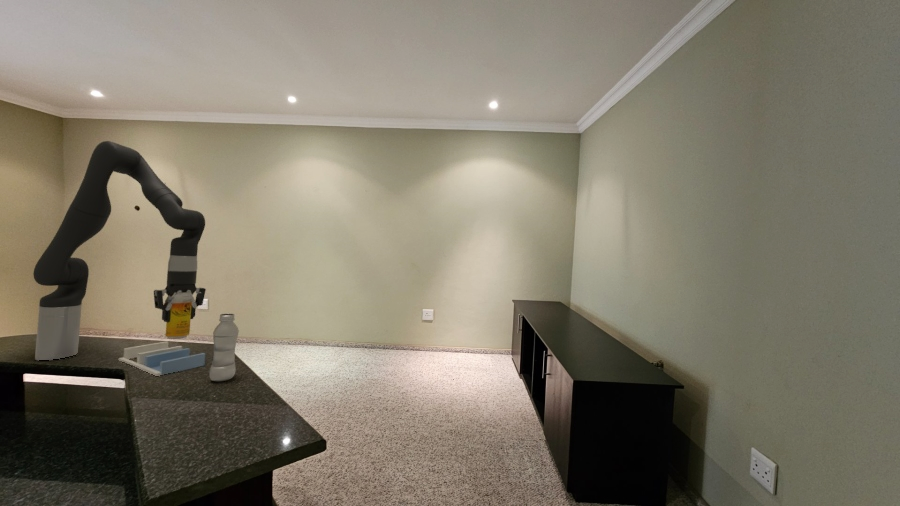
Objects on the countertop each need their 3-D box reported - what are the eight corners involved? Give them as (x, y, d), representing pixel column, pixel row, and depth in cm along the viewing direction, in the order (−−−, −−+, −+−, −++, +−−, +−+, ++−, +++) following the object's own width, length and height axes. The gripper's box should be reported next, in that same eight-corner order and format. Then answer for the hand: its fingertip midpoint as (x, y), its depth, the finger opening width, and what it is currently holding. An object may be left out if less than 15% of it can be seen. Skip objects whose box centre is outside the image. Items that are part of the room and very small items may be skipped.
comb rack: (118, 361, 110) (119, 349, 111) (165, 352, 122) (166, 341, 122) (156, 376, 100) (157, 363, 100) (204, 365, 112) (205, 353, 112)
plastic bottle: (204, 380, 100) (209, 314, 100) (227, 374, 106) (232, 311, 106) (215, 385, 97) (221, 317, 97) (239, 379, 103) (244, 314, 103)
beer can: (178, 340, 106) (182, 293, 106) (160, 338, 106) (163, 291, 106) (193, 335, 112) (197, 291, 112) (176, 334, 112) (179, 290, 112)
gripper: (200, 268, 117) (196, 315, 117) (149, 268, 104) (145, 321, 104) (212, 270, 114) (209, 318, 114) (162, 270, 101) (157, 325, 101)
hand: (178, 320), depth 109 cm, fingers closed on beer can, 6 cm apart
